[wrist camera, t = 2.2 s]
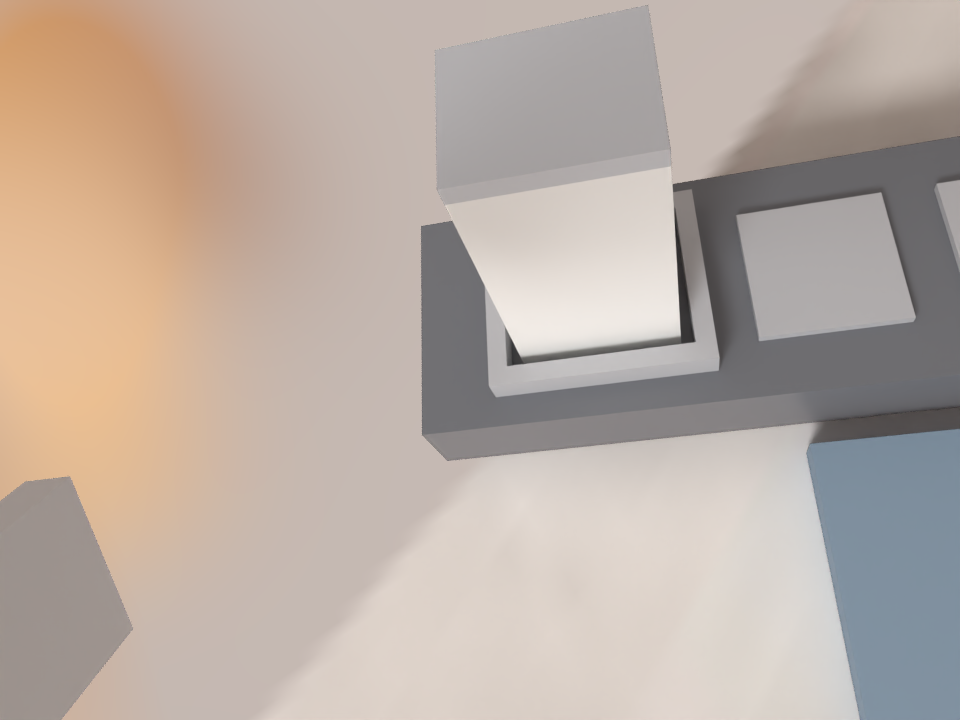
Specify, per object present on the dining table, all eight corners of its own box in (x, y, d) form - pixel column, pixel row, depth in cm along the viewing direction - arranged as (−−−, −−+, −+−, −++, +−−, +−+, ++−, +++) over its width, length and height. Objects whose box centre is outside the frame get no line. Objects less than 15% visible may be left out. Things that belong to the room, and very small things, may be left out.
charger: (665, 236, 27) (648, 4, 19) (681, 344, 26) (670, 148, 17) (518, 259, 28) (434, 50, 20) (524, 365, 27) (437, 189, 18)
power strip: (1439, 111, 26) (1563, 9, 22) (1585, 341, 23) (1759, 266, 19) (444, 266, 33) (411, 207, 29) (447, 460, 29) (410, 423, 26)
